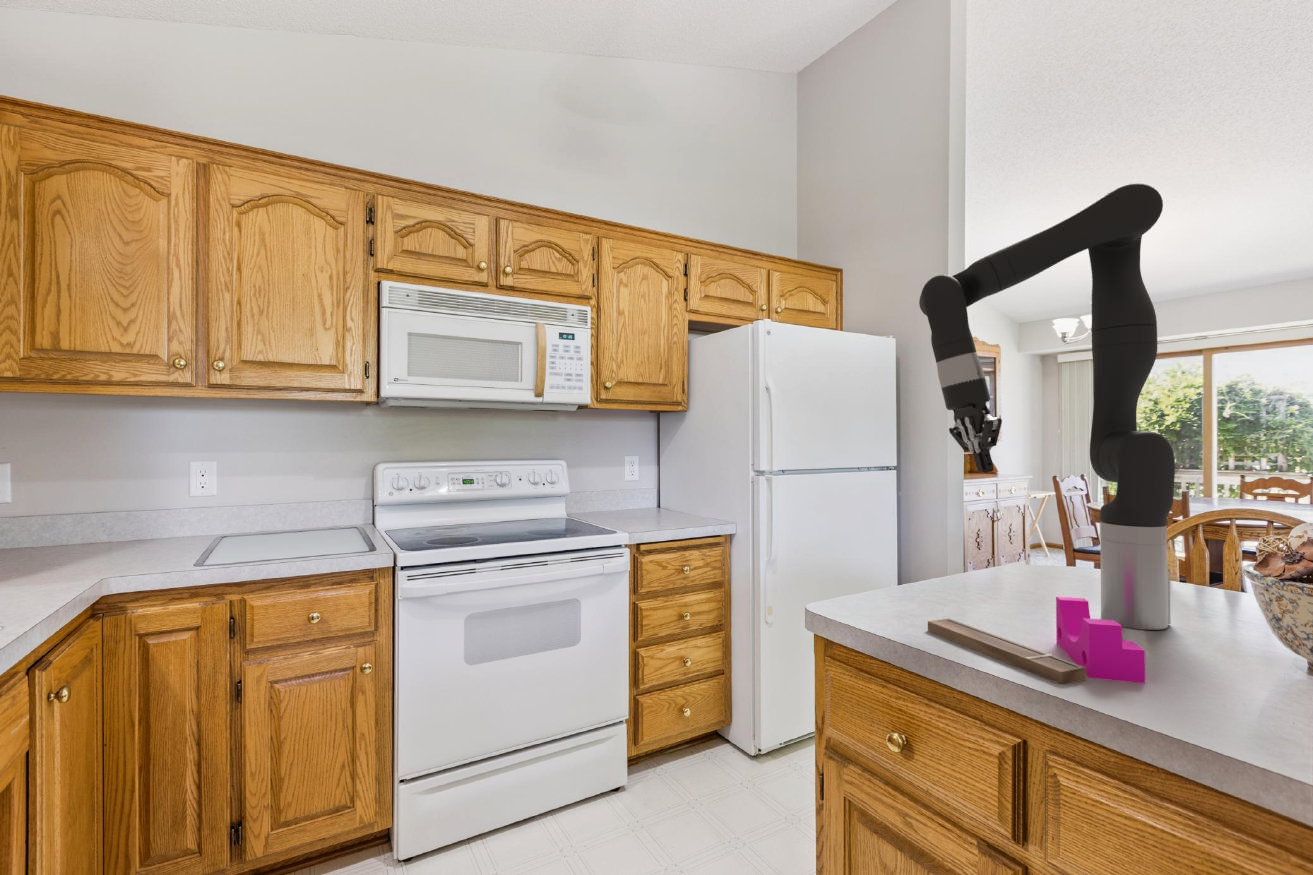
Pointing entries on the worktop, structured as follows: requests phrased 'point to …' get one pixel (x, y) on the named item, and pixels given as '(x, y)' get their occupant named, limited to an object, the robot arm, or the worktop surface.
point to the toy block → (1097, 643)
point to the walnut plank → (1009, 651)
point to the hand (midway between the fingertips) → (986, 472)
